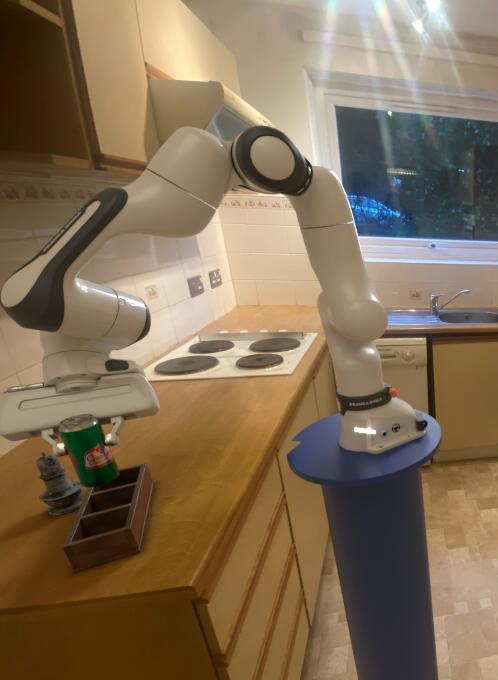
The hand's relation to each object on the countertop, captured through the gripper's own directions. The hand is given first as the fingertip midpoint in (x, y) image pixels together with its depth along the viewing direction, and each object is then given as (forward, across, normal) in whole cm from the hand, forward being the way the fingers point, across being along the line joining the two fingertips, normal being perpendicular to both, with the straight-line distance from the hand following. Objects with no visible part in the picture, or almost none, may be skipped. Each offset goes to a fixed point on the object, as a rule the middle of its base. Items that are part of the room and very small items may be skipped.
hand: (88, 449), depth 73 cm
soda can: (+4, 0, +5) cm, 7 cm away
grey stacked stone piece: (+3, -9, +19) cm, 22 cm away
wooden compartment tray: (+11, 0, +11) cm, 16 cm away
